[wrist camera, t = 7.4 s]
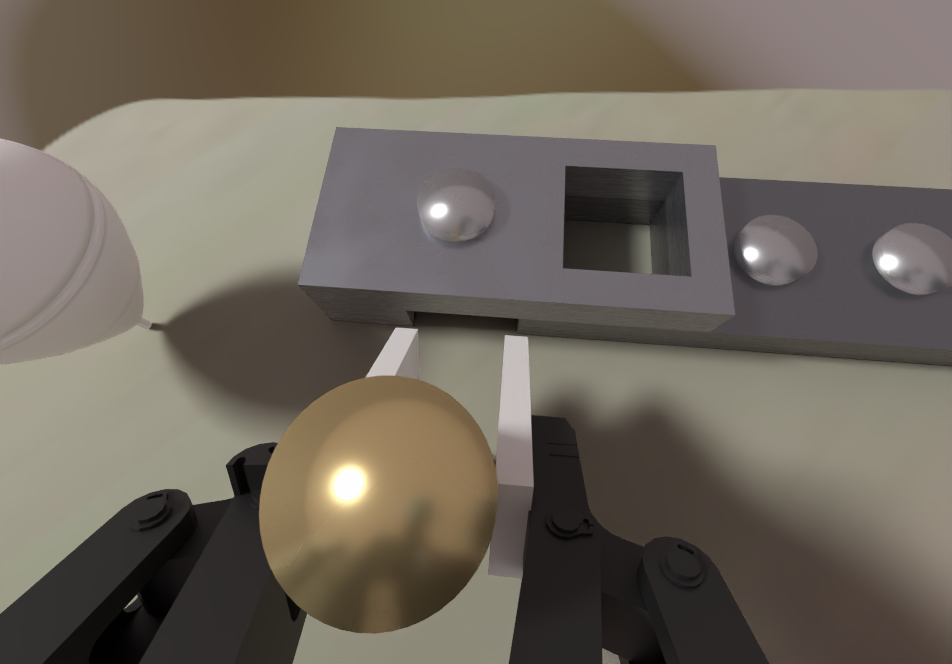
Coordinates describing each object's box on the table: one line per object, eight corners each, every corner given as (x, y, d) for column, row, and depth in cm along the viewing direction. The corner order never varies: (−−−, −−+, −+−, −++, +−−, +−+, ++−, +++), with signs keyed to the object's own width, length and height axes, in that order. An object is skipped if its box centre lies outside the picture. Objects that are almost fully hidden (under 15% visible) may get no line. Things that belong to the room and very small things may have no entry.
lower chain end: (938, 216, 22) (995, 182, 19) (985, 368, 19) (1057, 351, 17) (525, 193, 23) (529, 158, 21) (516, 333, 20) (520, 313, 18)
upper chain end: (677, 201, 23) (722, 135, 18) (688, 346, 20) (744, 309, 16) (360, 183, 24) (331, 116, 19) (332, 320, 21) (291, 277, 17)
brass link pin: (498, 449, 17) (505, 384, 6) (492, 531, 16) (487, 647, 5) (423, 442, 17) (289, 367, 6) (413, 524, 16) (229, 618, 5)
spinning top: (174, 425, 19) (-264, 348, 8) (37, 373, 20) (-522, 240, 9) (255, 280, 22) (1, 63, 10) (128, 240, 23) (-228, 2, 11)
